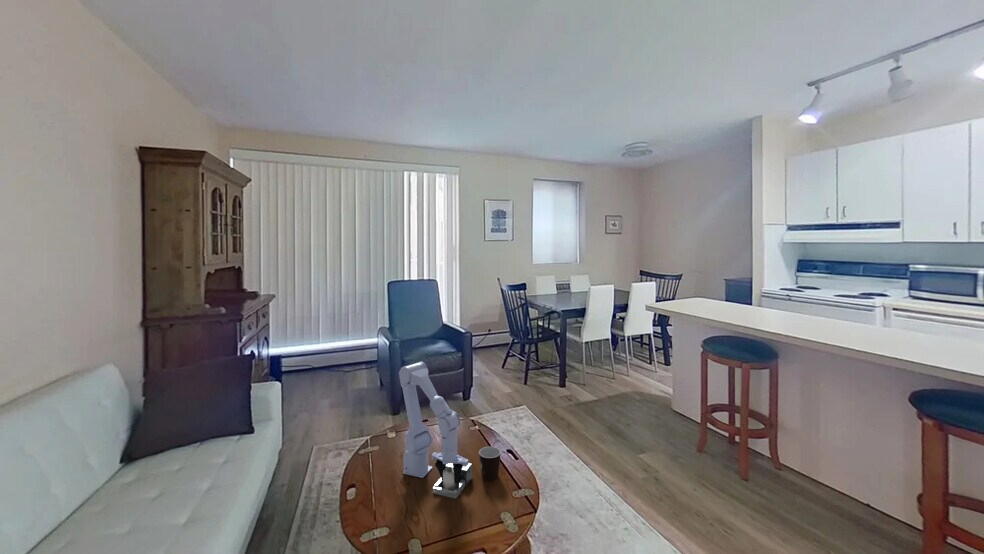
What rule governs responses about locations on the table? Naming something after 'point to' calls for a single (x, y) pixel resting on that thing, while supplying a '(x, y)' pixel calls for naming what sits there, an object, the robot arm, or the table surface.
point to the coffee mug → (489, 462)
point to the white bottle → (449, 478)
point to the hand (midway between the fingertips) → (450, 480)
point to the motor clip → (463, 480)
